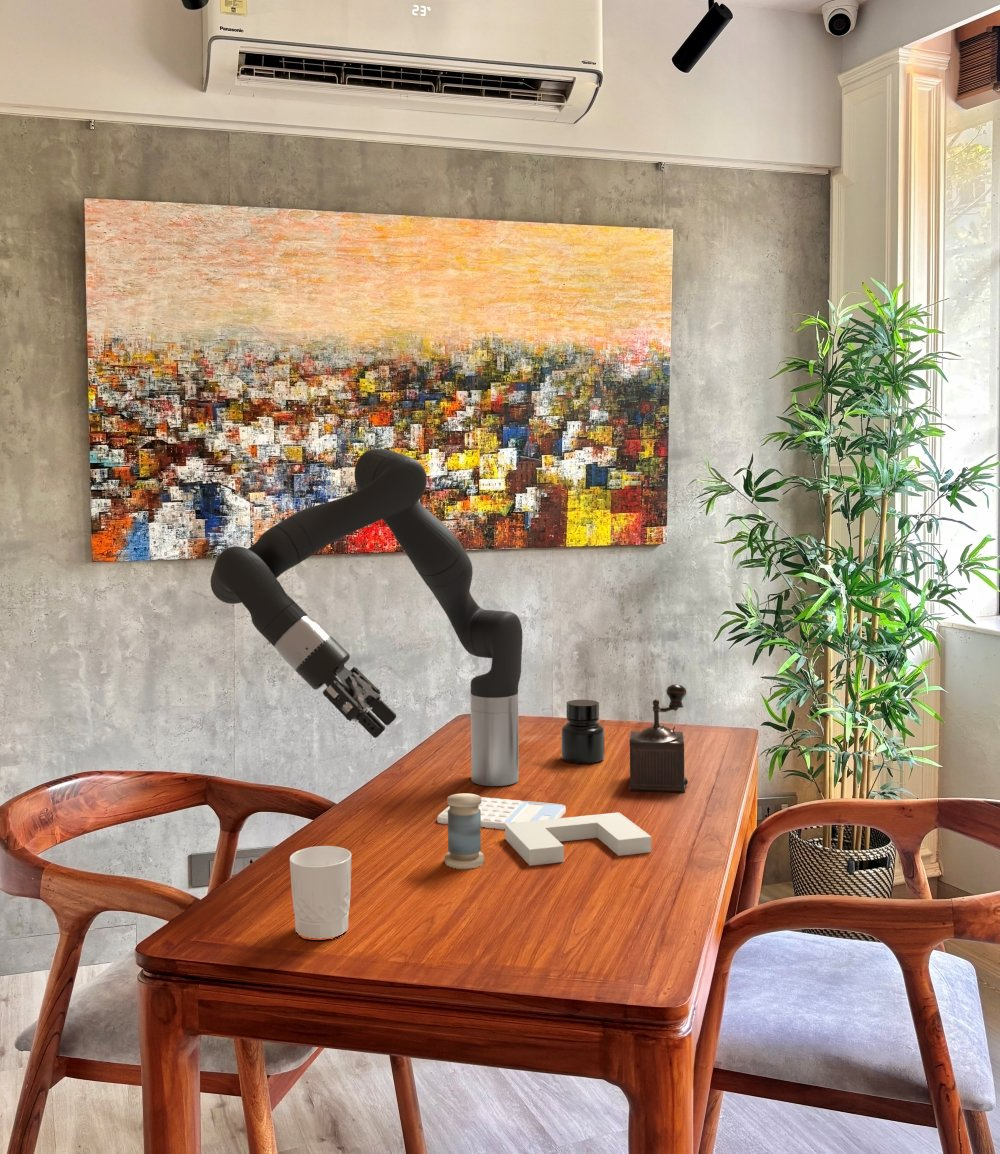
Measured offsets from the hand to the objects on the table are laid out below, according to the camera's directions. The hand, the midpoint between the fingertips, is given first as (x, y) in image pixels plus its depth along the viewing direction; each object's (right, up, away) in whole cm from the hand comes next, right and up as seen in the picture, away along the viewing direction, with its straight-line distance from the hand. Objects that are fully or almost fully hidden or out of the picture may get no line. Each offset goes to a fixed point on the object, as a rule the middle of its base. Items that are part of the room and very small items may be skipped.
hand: (386, 727), depth 164 cm
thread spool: (+12, -21, +1) cm, 24 cm away
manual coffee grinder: (+48, -17, +45) cm, 67 cm away
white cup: (-6, -23, -24) cm, 34 cm away
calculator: (+18, -19, +23) cm, 35 cm away
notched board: (+29, -20, +8) cm, 36 cm away
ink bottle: (+35, -15, +61) cm, 72 cm away
